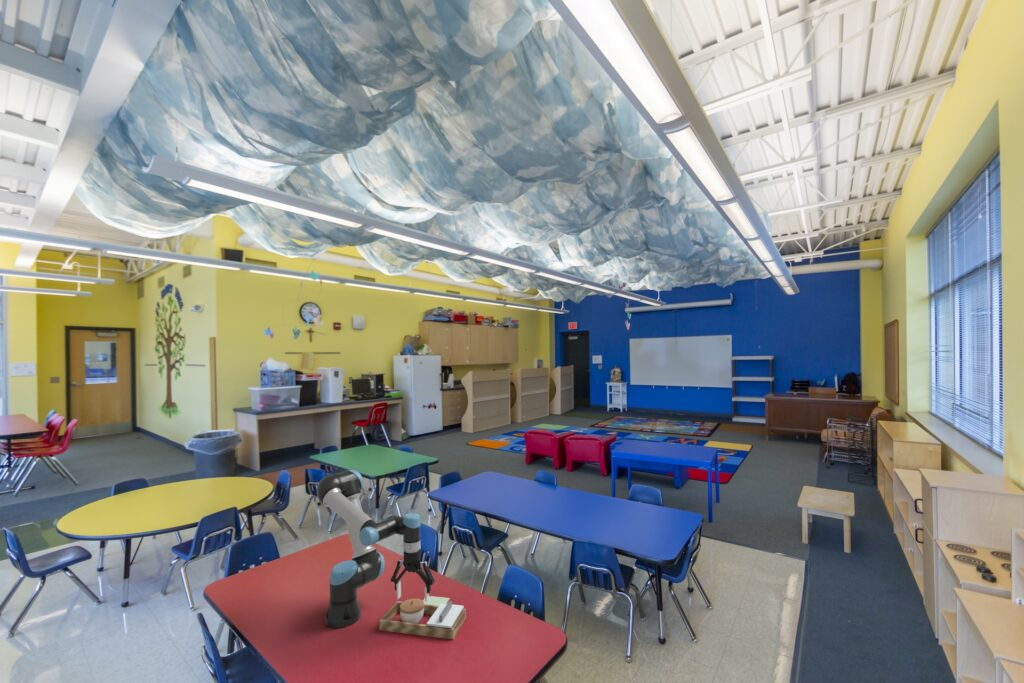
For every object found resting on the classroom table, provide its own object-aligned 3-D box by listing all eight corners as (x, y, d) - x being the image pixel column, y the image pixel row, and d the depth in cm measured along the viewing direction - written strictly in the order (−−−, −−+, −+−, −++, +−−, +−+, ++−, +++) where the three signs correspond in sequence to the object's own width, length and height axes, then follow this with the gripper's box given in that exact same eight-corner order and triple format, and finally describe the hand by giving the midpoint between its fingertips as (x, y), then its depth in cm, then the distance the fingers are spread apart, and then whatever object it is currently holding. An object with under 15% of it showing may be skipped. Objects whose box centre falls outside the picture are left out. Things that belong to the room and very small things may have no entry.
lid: (426, 625, 184) (426, 617, 184) (440, 605, 199) (440, 597, 199) (451, 628, 181) (451, 619, 181) (463, 607, 197) (463, 599, 197)
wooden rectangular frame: (379, 630, 188) (379, 620, 188) (397, 609, 204) (397, 601, 204) (453, 639, 181) (453, 629, 181) (465, 617, 196) (465, 608, 197)
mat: (416, 610, 203) (416, 608, 203) (426, 596, 215) (426, 595, 215) (440, 612, 201) (440, 611, 201) (449, 599, 212) (449, 598, 212)
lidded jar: (418, 631, 187) (418, 608, 188) (395, 628, 189) (395, 606, 190) (428, 616, 198) (428, 595, 198) (406, 614, 200) (406, 593, 200)
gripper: (382, 551, 194) (383, 600, 193) (434, 555, 189) (435, 605, 188) (390, 545, 202) (391, 592, 200) (441, 548, 196) (442, 596, 195)
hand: (412, 598), depth 194 cm, fingers open, 13 cm apart
